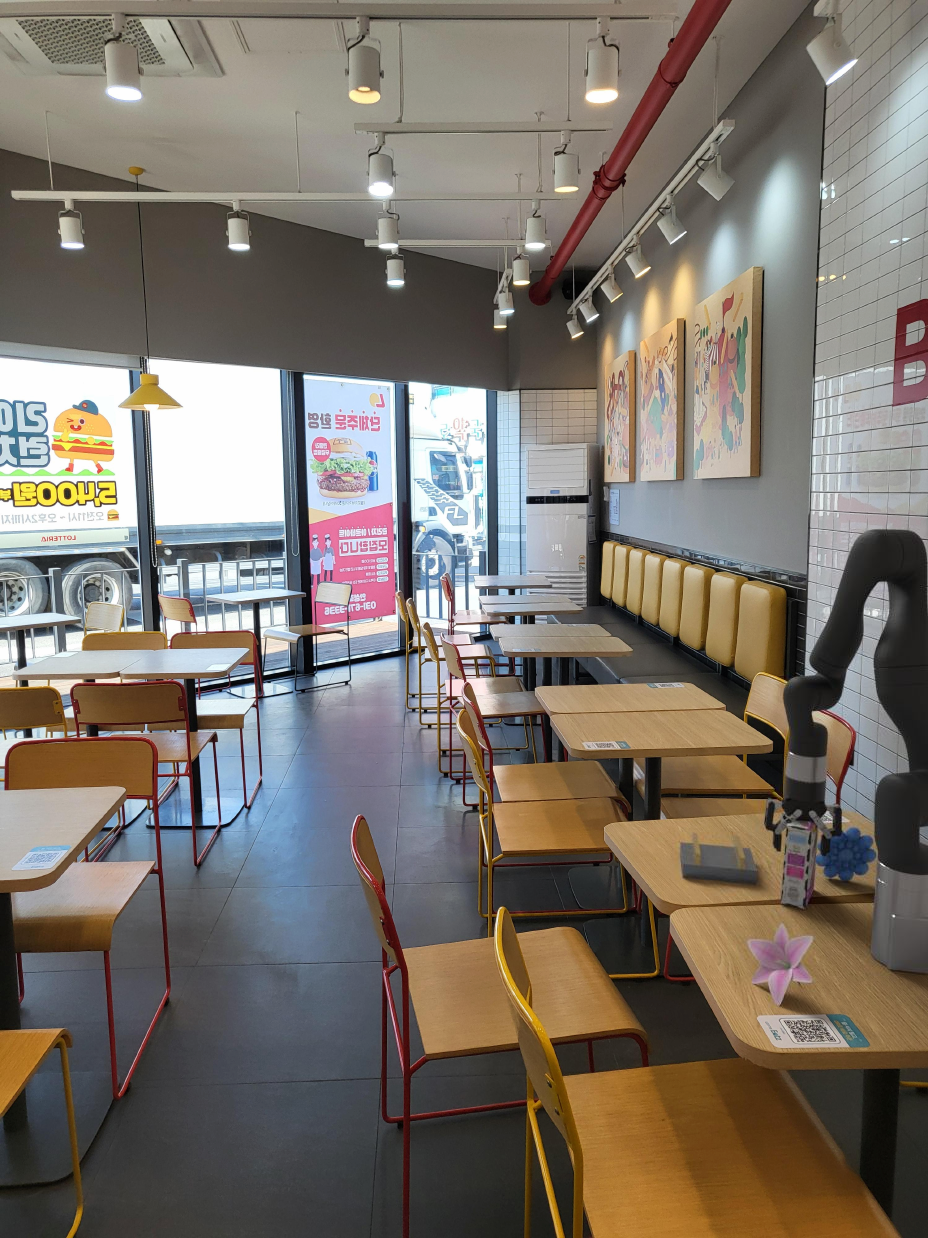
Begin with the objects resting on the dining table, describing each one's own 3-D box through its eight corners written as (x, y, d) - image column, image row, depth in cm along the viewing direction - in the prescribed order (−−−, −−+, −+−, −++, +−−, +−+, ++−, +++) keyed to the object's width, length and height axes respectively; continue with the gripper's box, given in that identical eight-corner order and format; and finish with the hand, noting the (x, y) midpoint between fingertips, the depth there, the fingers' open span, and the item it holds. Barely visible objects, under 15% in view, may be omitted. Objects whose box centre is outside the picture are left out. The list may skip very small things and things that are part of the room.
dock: (756, 884, 172) (758, 859, 171) (682, 877, 175) (683, 852, 174) (749, 861, 184) (750, 837, 183) (679, 855, 187) (680, 831, 186)
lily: (745, 967, 142) (730, 929, 139) (812, 947, 140) (799, 908, 137) (768, 1028, 131) (752, 989, 128) (842, 1007, 129) (828, 966, 126)
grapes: (872, 877, 176) (876, 823, 175) (875, 890, 170) (879, 834, 168) (813, 868, 180) (816, 815, 179) (814, 881, 174) (817, 826, 172)
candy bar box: (807, 911, 161) (812, 830, 159) (780, 905, 163) (784, 825, 161) (815, 889, 170) (820, 813, 168) (790, 883, 173) (794, 808, 171)
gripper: (771, 777, 161) (766, 856, 163) (849, 783, 158) (843, 863, 160) (765, 766, 169) (760, 842, 171) (839, 771, 166) (834, 848, 168)
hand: (800, 852), depth 166 cm, fingers open, 8 cm apart
